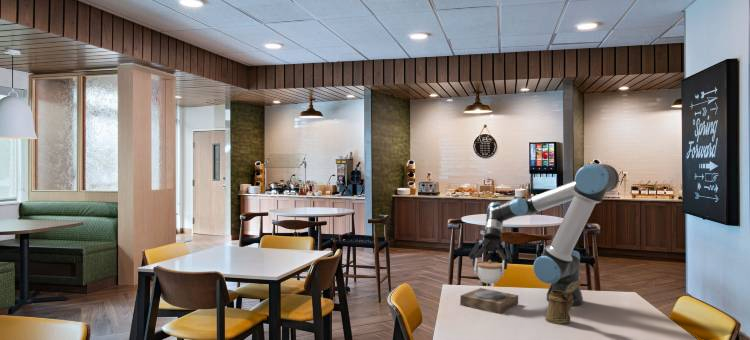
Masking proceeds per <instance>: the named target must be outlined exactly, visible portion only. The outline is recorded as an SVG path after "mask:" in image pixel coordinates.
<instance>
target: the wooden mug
mask: <svg viewBox="0 0 750 340" xmlns="http://www.w3.org/2000/svg"><path fill="white" fill-rule="evenodd" d="M580 283H581V281H580V279H579V280H578V279H577V280H575V281H573V282H572V283H570V284H569V285H568V286H567V287H566V289H565V291H566V292H564V291H559V290H551V292H550V295H549V301H548V303H547V304H548V305H547V310H546V315H545V316H544V317H545V318H544V319H545V321H547V322H548V323H552V324H556V325H568V324H570V322H571V317H570V311H571V309H572V308H573V306H574V305H573V296H572V292H573V291H575V290H576V289H577V288H578V286H579V287H580V285H581V284H580ZM568 301H569V304H568Z"/></svg>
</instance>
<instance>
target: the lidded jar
mask: <svg viewBox="0 0 750 340" xmlns="http://www.w3.org/2000/svg"><path fill="white" fill-rule="evenodd" d="M476 274H477V277H478V278H479V279H480V281H481V283H484V284H497V282H498V281H499V280H500V279H501V277H502V263H500V262H497V261H492V260H491V259H488V261H486V260H485V261H484V260H483V261H478V263H477V272H476Z"/></svg>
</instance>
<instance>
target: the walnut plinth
mask: <svg viewBox="0 0 750 340" xmlns="http://www.w3.org/2000/svg"><path fill="white" fill-rule="evenodd" d="M459 301H460V302H459V303H460V306H464V307H469V308H473V309H478V310H483V311H487V312H492V313H495V314H502V313H504V312H505V311H508V310H510V309H511V308H513V307H516V306H518V305H519V295H518V294H514V293H509V292H503V291H498V290H493V289H487V288H482V287H480V288H476V289H474V290H471V291H469V292H466V293H464V294H461V295H460V300H459Z"/></svg>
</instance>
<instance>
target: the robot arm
mask: <svg viewBox="0 0 750 340" xmlns="http://www.w3.org/2000/svg"><path fill="white" fill-rule="evenodd" d="M619 183H620V176H619V173H618V171H617V169H616V168H614V167H613V166H612V165H609V164H607V163H606V164H603V163H602V164H598V163H589V164H585V165H584V166H583V165H582V167H580V168H579V169H578V170H577V171H576V173H575V176H574V181H573V180H572V181H570V182H568V183H565V184H563V185H559V186H557V187H554V188H552V189H548V190H546V191H544V192H541V193H539V194H535V195H533V196H530V197H528V198H523V197H517V198H513V199H511V200H509V201H506V202H504V203H501V202H500V201H496V202H494V201H493V202H490V203H489V204H488V207H487V210H486V220H485V227H484V234H483V235H484V236H483V239H482V240H481V239H479V238H476V240H475V244H474V246H473V247H472V248H471V251H470V252H469V254H468V255H469V260H472V263H471V264H472V267H474V268H473V273H474V275H477V263H478V262H479V260H478V259H480V257H481V256H482V255H483V254H484V253H485V252H487V251H496V252H497V253H498V255H499V256H500V258H501V260H502V262H501V264H502V274H501V277H504V275H505V270H507V269H508V264H509V263H510V264H511V263H513V258H512V255H511V252H510V248H509V242H508V241H507V240H505V241H502V237H503V236H502V235H503V234H502V232H503V223H504V222H505V221H508V220H510V219H514V218H517V217H524V216H525V217H526V216H533V215H535V214H537V213H539V212H541V211H545V210H547V209H550V208H553V207H556V206H559V205H561V204H562V205H563V204H565V203H568V202H570V204H569V207H568V208H567V211H566V213H564V214H565V215H564V217H563V219H562V221H561V223H560V225H559V228H557V232H556V233H555V235H554V237H553V240H552V242H551V244H549V245H546V246H545V248H544V250H543V252H542V254H541V256H538V257H536V259H535V260H534V262H533V265H532V269H533V272H534V274H535V277H536V278H537V279H538V280H539V281H540V282H542V283H544V284H548V285H549V284H550V285H549V287H548V291H547V293H546V301H548V302H549V295H550V292H551V290H559V291H564V292H566V291H565V289H566V287H567V286H568V285H569V284H570V283H572V282H573V281H575V280H577V279H578V280H579V281H580V267H581V266H580V265H581V257H580V256H581V254H580V252H579V251H577V250H574V248H575V246H576V245H577V242H578V241H579V238H580V236H581V234H582V232H583V230H584V229H585V227H586V224H587V222H588V220H589V218H590V217H591V215H592V212H593V210H594V208H595V206H596V204H599V203H602V202H603V200H604V197H605V195H606V193H608V192H612V191H613V190H614V189H616V187H617V186H618V184H619ZM481 245H482V246H481ZM480 246H481V247H480ZM501 246H502V247H503V248H504V250H505V253H504V251H503V250H502V249H501ZM479 247H480V248H479ZM478 249H479V250H478ZM582 294H583V293H582V291H581V287H580V285H579V286H578V288H577V289H576V290H575V291H573V292H572V296H573V306H581V305H583V303H584V297H583V295H582ZM568 304H569V301H568Z"/></svg>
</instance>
